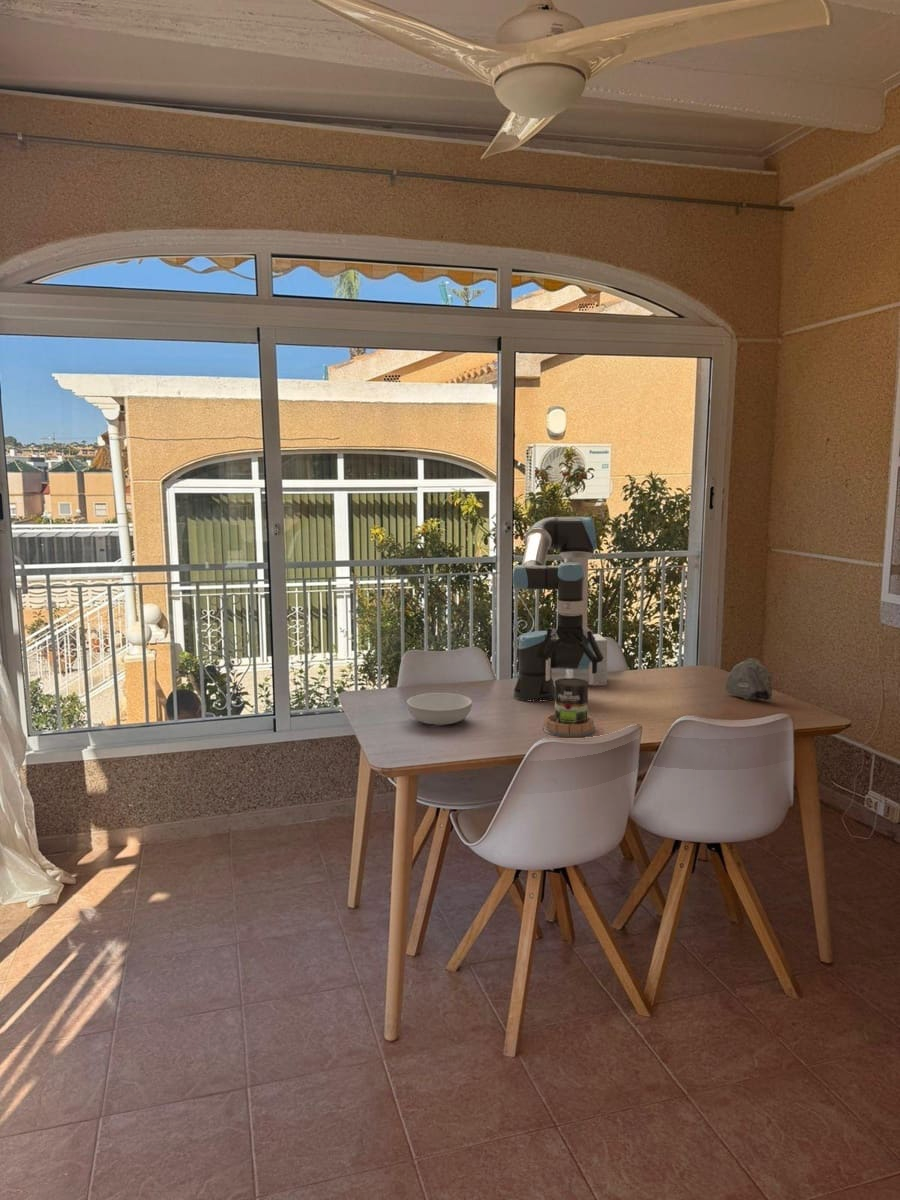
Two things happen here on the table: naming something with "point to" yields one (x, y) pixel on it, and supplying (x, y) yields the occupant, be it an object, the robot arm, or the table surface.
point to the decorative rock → (749, 681)
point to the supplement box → (601, 673)
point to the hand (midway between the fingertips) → (569, 681)
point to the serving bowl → (439, 708)
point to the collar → (568, 727)
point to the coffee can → (571, 701)
